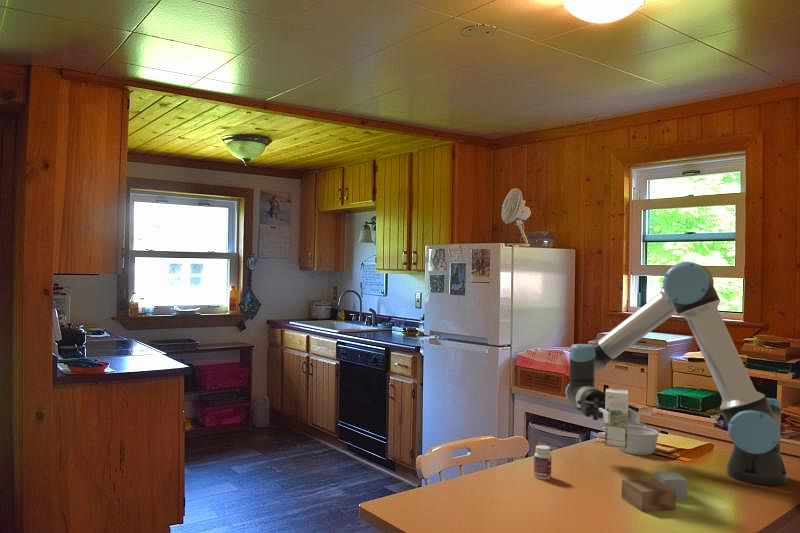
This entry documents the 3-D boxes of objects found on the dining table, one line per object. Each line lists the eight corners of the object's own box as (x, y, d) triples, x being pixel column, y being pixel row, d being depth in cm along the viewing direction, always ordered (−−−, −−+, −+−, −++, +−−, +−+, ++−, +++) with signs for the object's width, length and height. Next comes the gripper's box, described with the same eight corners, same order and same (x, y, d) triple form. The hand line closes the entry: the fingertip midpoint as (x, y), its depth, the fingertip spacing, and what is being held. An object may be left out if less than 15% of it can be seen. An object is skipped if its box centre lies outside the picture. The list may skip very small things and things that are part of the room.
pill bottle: (551, 480, 171) (552, 449, 171) (533, 478, 172) (534, 448, 172) (550, 475, 175) (551, 445, 176) (533, 473, 176) (534, 444, 176)
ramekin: (661, 450, 206) (661, 428, 206) (653, 459, 195) (654, 436, 195) (620, 443, 213) (620, 422, 213) (610, 451, 202) (610, 430, 202)
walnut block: (653, 498, 160) (653, 478, 160) (675, 511, 151) (675, 490, 151) (621, 499, 158) (621, 479, 158) (641, 512, 149) (642, 491, 149)
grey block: (675, 491, 165) (675, 472, 165) (687, 499, 159) (687, 479, 159) (653, 491, 165) (653, 472, 165) (664, 499, 159) (664, 479, 159)
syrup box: (627, 443, 167) (628, 389, 168) (627, 448, 162) (628, 392, 162) (604, 440, 169) (605, 387, 169) (604, 446, 164) (605, 390, 164)
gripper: (625, 414, 184) (661, 433, 161) (558, 413, 183) (585, 432, 160) (626, 389, 184) (662, 404, 161) (559, 387, 183) (585, 403, 160)
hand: (623, 418), depth 161 cm, fingers closed on syrup box, 7 cm apart
